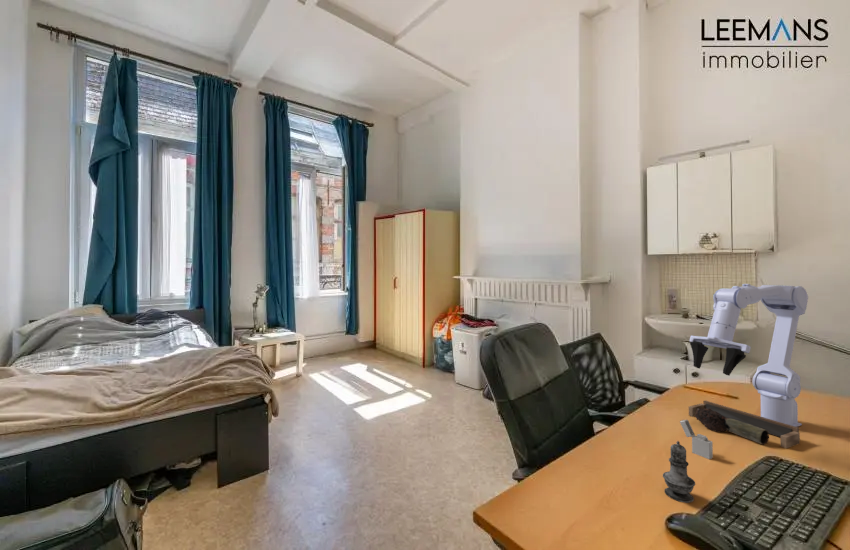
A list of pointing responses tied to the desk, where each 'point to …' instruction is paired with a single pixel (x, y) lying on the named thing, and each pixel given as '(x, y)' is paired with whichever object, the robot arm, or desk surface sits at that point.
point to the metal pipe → (731, 425)
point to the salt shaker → (678, 476)
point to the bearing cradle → (754, 422)
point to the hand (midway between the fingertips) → (710, 370)
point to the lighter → (698, 441)
